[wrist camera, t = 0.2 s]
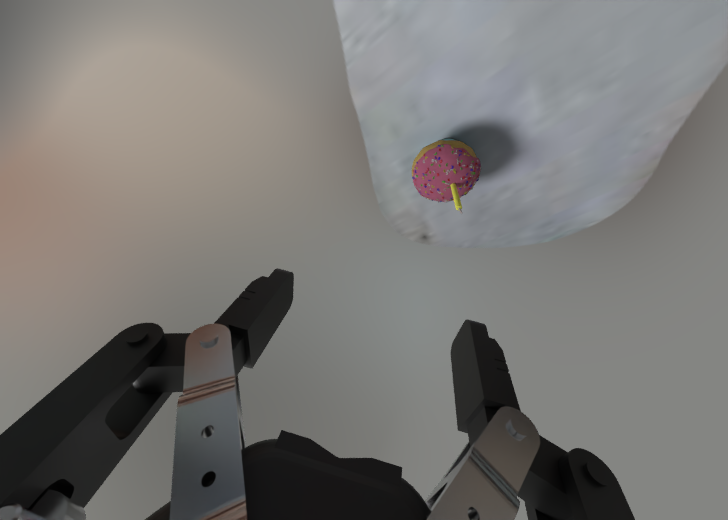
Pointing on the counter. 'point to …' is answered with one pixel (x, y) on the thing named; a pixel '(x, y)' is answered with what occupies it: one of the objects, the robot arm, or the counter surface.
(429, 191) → the cupcake
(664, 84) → the counter surface
